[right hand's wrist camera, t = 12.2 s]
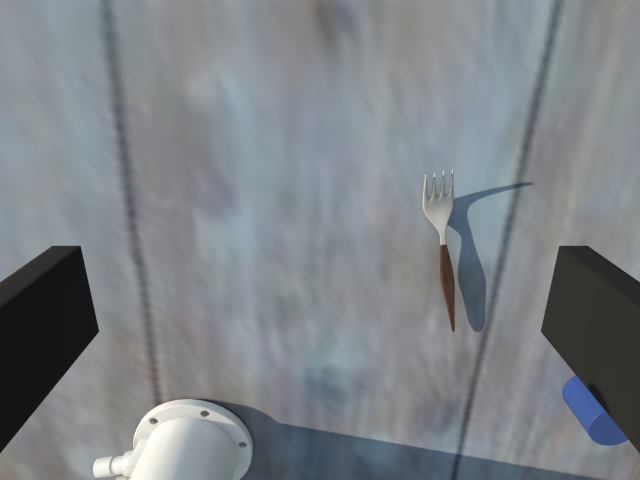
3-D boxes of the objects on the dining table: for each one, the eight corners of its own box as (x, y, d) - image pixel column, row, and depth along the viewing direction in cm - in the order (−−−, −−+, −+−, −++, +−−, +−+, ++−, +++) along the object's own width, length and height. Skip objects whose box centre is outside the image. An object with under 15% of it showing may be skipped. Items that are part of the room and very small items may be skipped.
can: (565, 411, 47) (591, 450, 42) (559, 378, 45) (586, 415, 40) (609, 401, 46) (641, 439, 42) (605, 367, 44) (638, 402, 40)
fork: (438, 330, 43) (443, 343, 41) (417, 169, 37) (422, 175, 35) (465, 326, 43) (471, 338, 41) (449, 163, 37) (456, 169, 35)
